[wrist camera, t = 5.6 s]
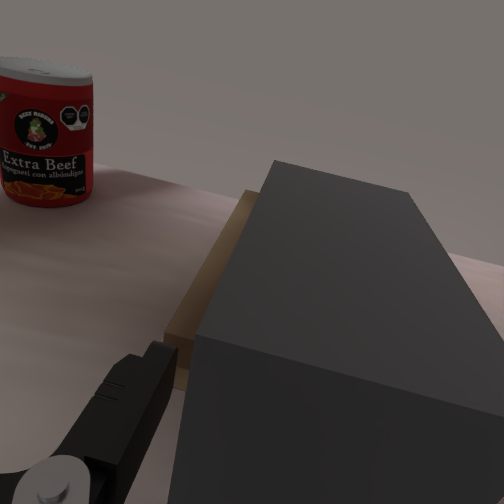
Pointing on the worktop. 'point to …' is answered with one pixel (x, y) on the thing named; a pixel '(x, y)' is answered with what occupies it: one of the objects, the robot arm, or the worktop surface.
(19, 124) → the canned food
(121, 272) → the worktop surface
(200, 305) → the brown grooved block
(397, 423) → the grey rectangular block
